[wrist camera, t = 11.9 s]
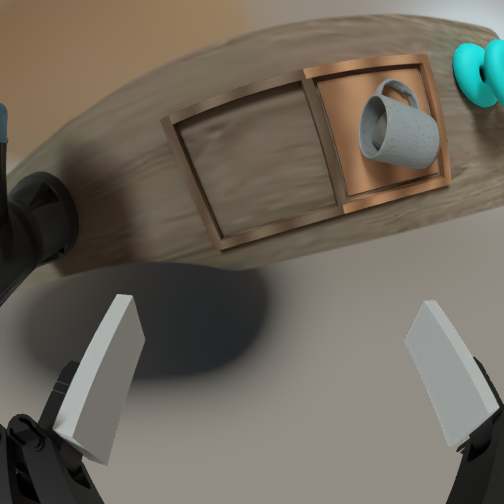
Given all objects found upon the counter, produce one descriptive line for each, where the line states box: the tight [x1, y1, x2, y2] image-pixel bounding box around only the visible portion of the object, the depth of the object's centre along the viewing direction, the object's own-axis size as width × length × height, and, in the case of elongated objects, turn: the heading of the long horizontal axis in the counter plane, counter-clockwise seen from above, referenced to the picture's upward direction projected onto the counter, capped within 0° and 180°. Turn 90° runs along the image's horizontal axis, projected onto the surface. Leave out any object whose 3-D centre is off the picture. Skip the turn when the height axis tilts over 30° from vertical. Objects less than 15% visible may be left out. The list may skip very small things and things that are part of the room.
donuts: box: [453, 40, 504, 107], centre depth 18 cm, size 10×10×10 cm
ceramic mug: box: [358, 79, 441, 169], centre depth 25 cm, size 11×8×8 cm
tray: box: [160, 54, 451, 251], centre depth 30 cm, size 35×18×1 cm, turn 109°
